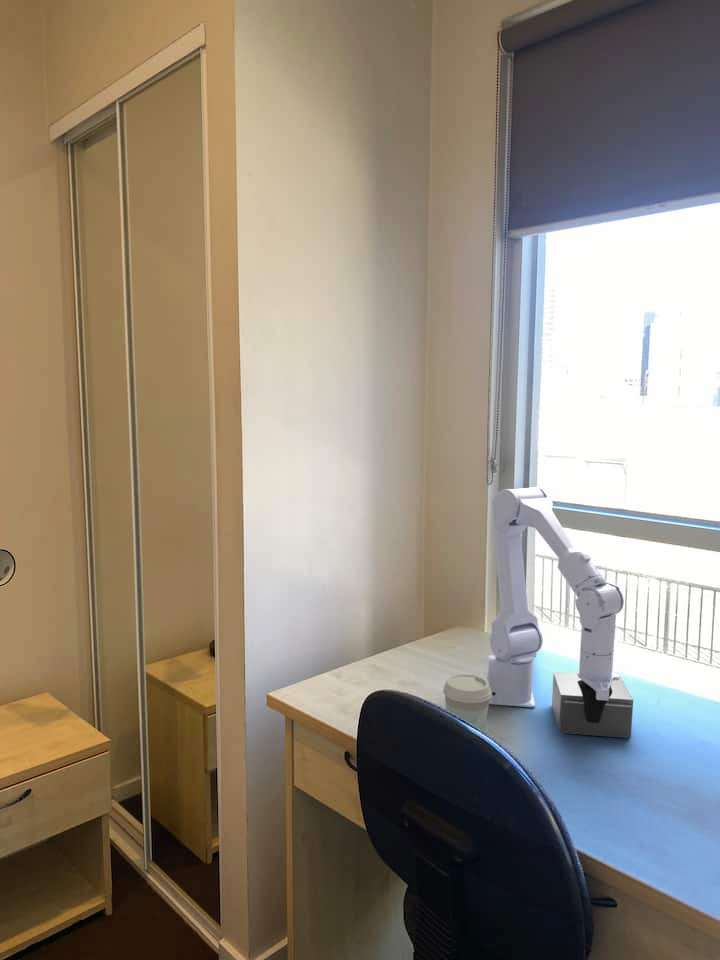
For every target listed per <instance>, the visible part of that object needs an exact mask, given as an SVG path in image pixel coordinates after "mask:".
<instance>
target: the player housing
mask: <svg viewBox="0 0 720 960" xmlns="http://www.w3.org/2000/svg"><path fill="white" fill-rule="evenodd" d="M579 680H581V679H580V678H579V677H578V673H573V672H572V673H571V672H557V671H554V672H553V676H552V694H551V697H552V698H551V700H552V701H551V709H552V710H553V715H554V718H555V722H556V725H557V728H558V731H560V732H562V724H563V705H564V700H573V701H584V700H583V696H582V692H581V689H580V687H579V685H578V681H579ZM611 689H612V695H611V696H610V697H609V700H608V701H607V702H606V703H614V704H628V705H631V706H632V714H631V730H630V737H632V725H633V709H634V699H633V697H632V695H631V693H630V691H629V690H628V688H627V686H626V684H625V682H624V680H623V678H622V677H621V676H619V680H617V681H616V680H614V681H612V683H611Z"/></svg>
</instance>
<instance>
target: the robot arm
mask: <svg viewBox="0 0 720 960" xmlns="http://www.w3.org/2000/svg"><path fill="white" fill-rule="evenodd" d="M491 504H492V512H493V513H492V515H493V526H492V527H493V528H492V530H493V538H494V539H493V540H494V551H495V560H496V561H495V563H496V570H497V571H496V573H497V583H498V591H499V592H498V594H499V595H498V596H499V604H500V612H499V613H498V614H497V615H496V616H495V618H494V619H493V620H492V621H491V633H490V636H489V645H490V649H491V652H492V653H493V655H487V661H486V662H487V665H486V666H487V667H486V680H487V681H488V683H489V687H490V689H491V693H492V696H491V698H490V699H489V705H496V706H497V705H498V706H510V707H523V708H535V707H536V704H535V699H534V694H533V673H534V659H535V658H536V657H537V652H539V651H540V650H541V649H542V647H543V641H544V640H543V634H542V631H541V629H540V627H539V624H538V623H539V622H538V617H537V616H536V615H534V614H533V613H532V612H531V611H529V609H528V599H527V598H528V595H527V586H526V577H525V565H524V553H523V544H522V534H523V532H524V531H525V529H527V527H530V528H534V529H535V530H536V531H537V532H538V534H539V535H540V536H541V537H542V539H543V540H544V541H545V542H546V544H547V545H548V546H549V548H550V550H552V551H553V553H554V554H555V556H557V558H558V562H557V568H558V570H559V572H560V573H561V575H562V576H563V578H564V579H565V581H566V582H567V584H568V585H569V587H570V588H571V590H572V591H573V593H574V595H575V596H576V597H577V598H575V607H576V610H577V612H578V613H579V623H580V625H581V630H580V631H581V632H580V649H579V669H578V670H577V674H578V677H579V678H580V679H581V680H579V681H578V685H579V687H580V689H581V692H582V696H583V700H584V707H585V715H586V719H587V722H590V723H599V721H600V719H601V715H602V712H603V709H604V706H605V704H606V702H607V701H608V700H609V697H610V696H611V695H612V689H611V683H612V681H614V680H616V681H617V680H619V677H620V676H619V674H618V673H617V672H613V669H614V668H613V666H614V652H615V632H616V618H617V617H616V616H617V614H619V613H620V612H621V611H622V610H623V607H624V597H623V593H622V591H621V590H620V587H619V586H618V585H616V583H613V582H611V581H608V579H606V578H604V577H603V576H602V574H601V573H600V571H599V570H598V569H597V567H596V566H595V565H594V563H593V561H592V560H591V559H592V557H590V555H589V554H588V553H586V552H585V551H584V550H582V549H577V548H575V546H574V545H573V544H572V542H571V540H570V538H569V537H568V535H567V532H565V530H564V528H563V527H562V524H561V523H560V522H559V520H558V518H557V517H556V514H555V513H554V512H553V500H552V499H550V497H549V495H548V494H547V492H546V490H544V488H542V487H540V486H534V487H526V488H525V487H524V488H513V489H509V488H504V489H501V490H500V491H499V492H498V493H497V494H496V495H495V497H494V498H493V500H492V501H491Z"/></svg>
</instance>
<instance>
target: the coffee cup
mask: <svg viewBox="0 0 720 960" xmlns="http://www.w3.org/2000/svg"><path fill="white" fill-rule="evenodd" d="M442 693H443V695H444V699H445V701H444V702H445V710H447V711H449V712H451V713H453V714H455V715H457V716H459V717H460V718H462V719H464V720H465V721H467V722H469V723H471V724H472V725H474V726H475V727H477V728H479V729H480V730H482V731H483V732H484V733H485V729H486V723H487V717H488V710H489V705H490V704H489V699H490V698H491V696H492V693H491V689H490V687H489V683H488V681H487V679H486V678H484V677H483V676H482V677H481V676H479V675H475V674H470V673H469V674H466V673H464V674H463V673H462V674H454V675H451V676H449V677H447V679H446V682H445V684H444V686H443V690H442Z"/></svg>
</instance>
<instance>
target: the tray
mask: <svg viewBox="0 0 720 960" xmlns="http://www.w3.org/2000/svg"><path fill="white" fill-rule="evenodd" d="M631 714H632V715H633V713H632V706H631V705H628V704H614V703H606V704H605V706H604V709H603V712H602V715H601V719H600V721H599V723H590V722H587V719H586V715H585V707H584V701H573V700H564V705H563V724H562V731H561V732H562V733H563V734H572V735H573V734H575V735H585V736H587V735H588V736H600V737H612V738H623V739H624V738H625V739H630V738H631V736H630V730H631V731H632V728H631Z"/></svg>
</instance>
